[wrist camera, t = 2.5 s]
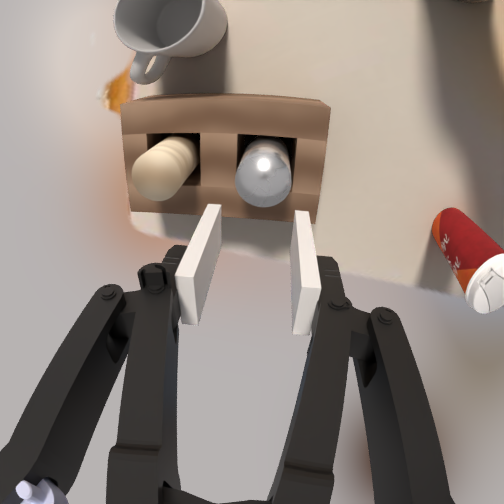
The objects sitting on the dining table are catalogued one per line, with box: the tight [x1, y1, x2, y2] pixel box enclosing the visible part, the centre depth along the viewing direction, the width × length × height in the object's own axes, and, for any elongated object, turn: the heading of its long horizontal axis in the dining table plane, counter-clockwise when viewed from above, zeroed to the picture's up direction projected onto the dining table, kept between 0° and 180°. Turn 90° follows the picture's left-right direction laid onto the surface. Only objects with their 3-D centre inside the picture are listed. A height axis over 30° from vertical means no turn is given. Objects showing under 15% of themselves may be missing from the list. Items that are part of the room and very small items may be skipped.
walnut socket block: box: [120, 93, 331, 224], centre depth 31 cm, size 12×20×8 cm, turn 87°
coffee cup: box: [432, 208, 504, 314], centre depth 32 cm, size 8×8×15 cm
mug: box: [113, 0, 227, 85], centre depth 23 cm, size 12×8×11 cm
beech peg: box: [132, 133, 200, 201], centre depth 27 cm, size 4×4×8 cm
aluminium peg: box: [235, 135, 292, 207], centre depth 27 cm, size 4×4×8 cm
